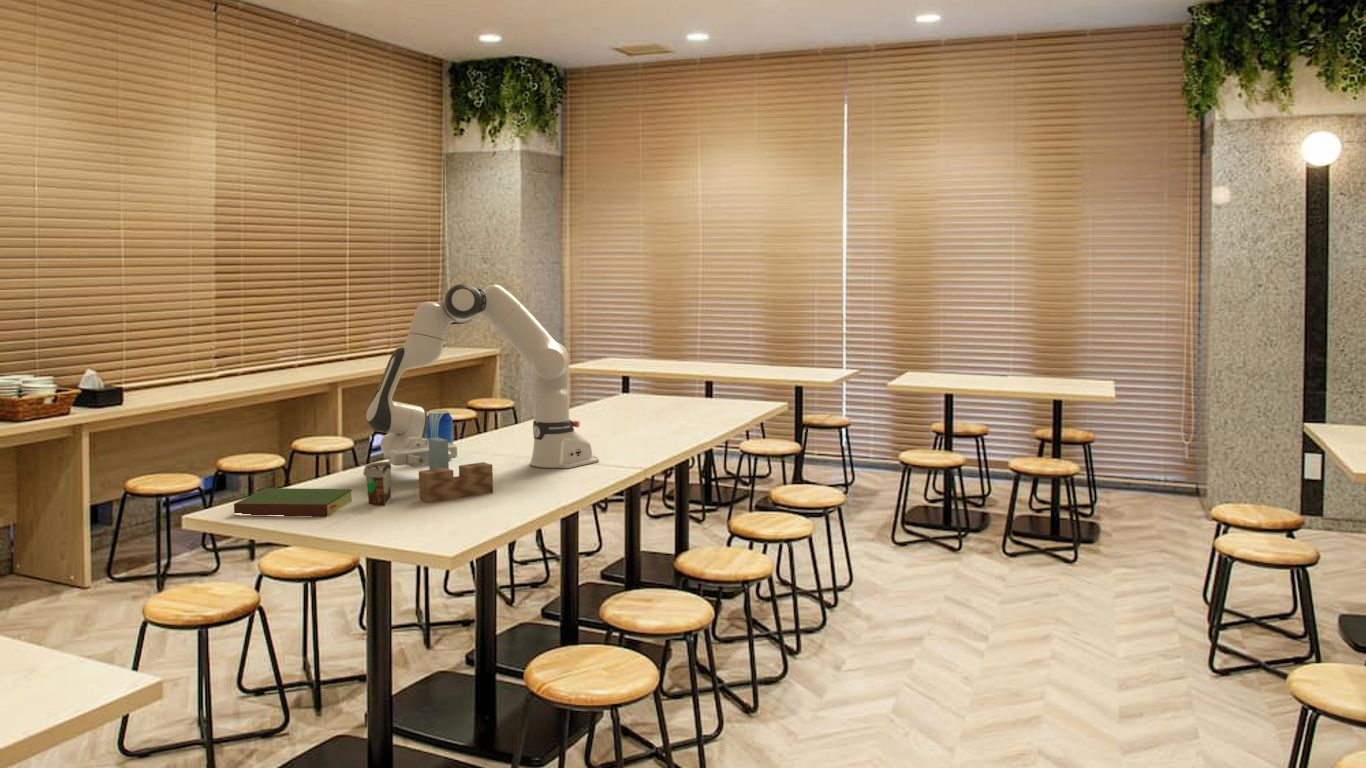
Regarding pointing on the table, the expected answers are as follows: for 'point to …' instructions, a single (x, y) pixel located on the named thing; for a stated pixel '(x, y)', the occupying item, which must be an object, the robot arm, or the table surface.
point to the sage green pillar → (438, 453)
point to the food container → (378, 482)
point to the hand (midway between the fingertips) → (435, 458)
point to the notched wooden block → (455, 482)
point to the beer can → (440, 425)
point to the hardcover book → (294, 502)
